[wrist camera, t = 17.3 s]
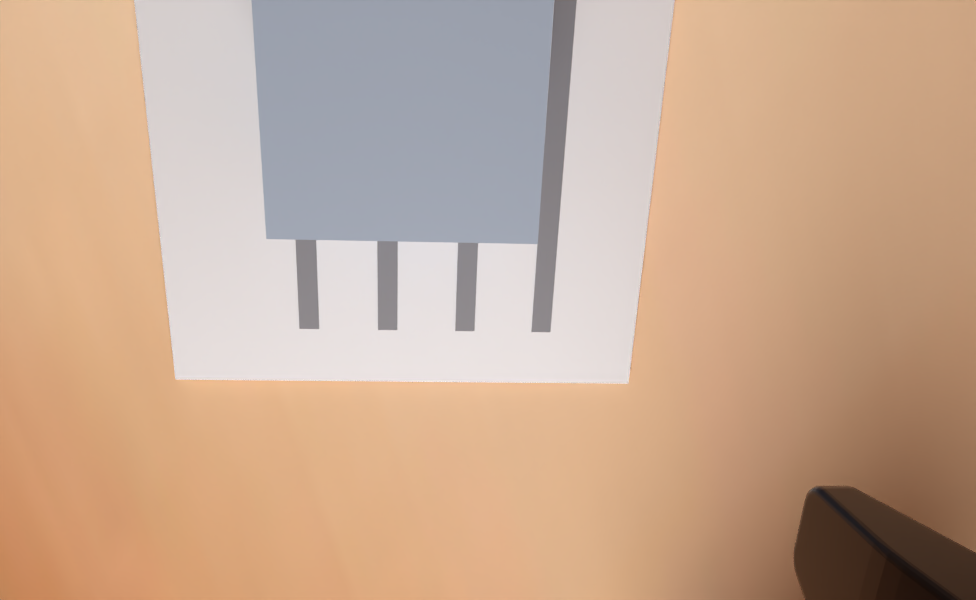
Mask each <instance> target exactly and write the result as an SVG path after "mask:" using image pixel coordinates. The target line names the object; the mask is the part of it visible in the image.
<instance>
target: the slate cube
mask: <svg viewBox="0 0 976 600" xmlns="http://www.w3.org/2000/svg"><path fill="white" fill-rule="evenodd" d="M251 1H252V17H253V33H254V50H255V66H256V82H257V98H258V114H259V130H260V146H261V162H262V178H263V194H264V210H265V226H266V239H291V240H345V241H399V242H453V243H506V244H538V234H539V218H540V203H541V188H542V173H543V158H544V143H545V128H546V113H547V98H548V82H549V67H550V52H551V37H552V22H553V7H554V0H251Z"/></svg>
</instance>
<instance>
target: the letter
mask: <svg viewBox="0 0 976 600" xmlns="http://www.w3.org/2000/svg"><path fill="white" fill-rule="evenodd" d="M674 1H675V0H554V7H553V22H552V37H551V52H550V67H549V82H548V98H547V113H546V128H545V143H544V158H543V173H542V188H541V203H540V218H539V234H538V244H506V243H453V242H399V241H345V240H291V239H266V226H265V210H264V194H263V178H262V162H261V146H260V130H259V114H258V98H257V82H256V66H255V50H254V33H253V17H252V1H251V0H134V3H135V12H136V21H137V30H138V39H139V49H140V58H141V67H142V76H143V85H144V95H145V104H146V113H147V122H148V131H149V141H150V150H151V159H152V168H153V178H154V187H155V196H156V205H157V214H158V224H159V233H160V242H161V251H162V260H163V270H164V279H165V288H166V297H167V306H168V316H169V325H170V334H171V343H172V352H173V362H174V371H175V379H183V380H294V381H405V382H516V383H627V384H628V382H629V374H630V366H631V358H632V349H633V341H634V333H635V324H636V316H637V308H638V300H639V291H640V283H641V275H642V266H643V258H644V250H645V242H646V233H647V225H648V217H649V208H650V200H651V192H652V184H653V175H654V167H655V159H656V151H657V142H658V134H659V126H660V117H661V109H662V101H663V93H664V84H665V76H666V68H667V59H668V51H669V43H670V35H671V26H672V18H673V10H674Z"/></svg>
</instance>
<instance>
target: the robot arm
mask: <svg viewBox="0 0 976 600" xmlns="http://www.w3.org/2000/svg"><path fill="white" fill-rule="evenodd" d="M794 567H795V572H796V575H797V578H798V581H799V584H800V587H801V590H802V592H803V595H804V598H805V600H976V553H975V552H973V551H971V550H969V549H967V548H966V547H964V546H962V545H960V544H958V543H956V542H954V541H952V540H951V539H949V538H947V537H945V536H943V535H941V534H939V533H938V532H936V531H934V530H932V529H930V528H928V527H926V526H925V525H923V524H921V523H919V522H917V521H915V520H913V519H911V518H910V517H908V516H906V515H904V514H902V513H900V512H898V511H897V510H895V509H893V508H891V507H889V506H887V505H885V504H884V503H882V502H880V501H878V500H876V499H874V498H872V497H870V496H869V495H867V494H865V493H863V492H861V491H859V490H857V489H855V488H853V487H849V486H816V487H814V488H812V489H811V490H810V491H809V492H808V494H807V496H806V499H805V502H804V507H803V511H802V516H801V520H800V525H799V529H798V534H797V538H796V543H795V547H794Z"/></svg>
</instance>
